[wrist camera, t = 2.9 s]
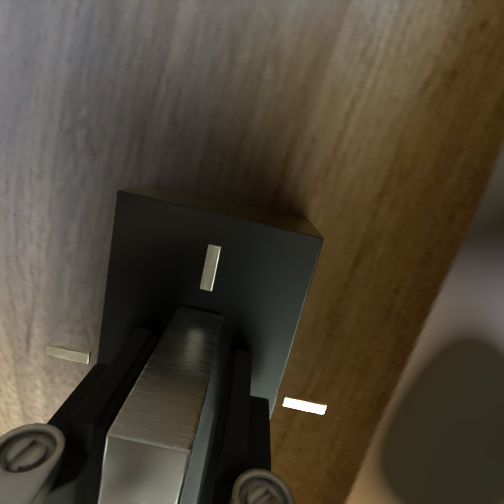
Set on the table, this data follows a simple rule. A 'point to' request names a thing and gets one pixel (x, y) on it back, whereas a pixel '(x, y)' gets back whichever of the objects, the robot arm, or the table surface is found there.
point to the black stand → (208, 287)
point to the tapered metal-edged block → (161, 415)
